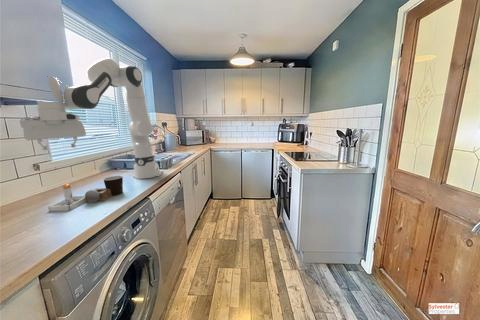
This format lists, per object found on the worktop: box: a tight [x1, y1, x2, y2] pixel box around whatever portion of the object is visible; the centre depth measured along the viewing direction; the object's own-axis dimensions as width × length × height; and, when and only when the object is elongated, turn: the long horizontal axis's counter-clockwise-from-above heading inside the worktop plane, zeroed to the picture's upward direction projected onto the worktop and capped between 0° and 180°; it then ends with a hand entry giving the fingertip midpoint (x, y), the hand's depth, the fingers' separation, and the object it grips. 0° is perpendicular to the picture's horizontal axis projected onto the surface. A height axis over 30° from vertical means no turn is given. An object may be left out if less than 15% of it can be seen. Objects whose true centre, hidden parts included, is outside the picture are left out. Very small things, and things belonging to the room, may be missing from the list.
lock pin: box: [61, 183, 75, 206], centre depth 96 cm, size 3×3×10 cm
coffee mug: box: [102, 175, 124, 197], centre depth 111 cm, size 12×9×10 cm
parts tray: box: [47, 195, 87, 212], centre depth 97 cm, size 13×9×3 cm
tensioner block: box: [84, 187, 113, 204], centre depth 103 cm, size 10×8×7 cm
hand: (60, 148), depth 92 cm, fingers open, 8 cm apart
